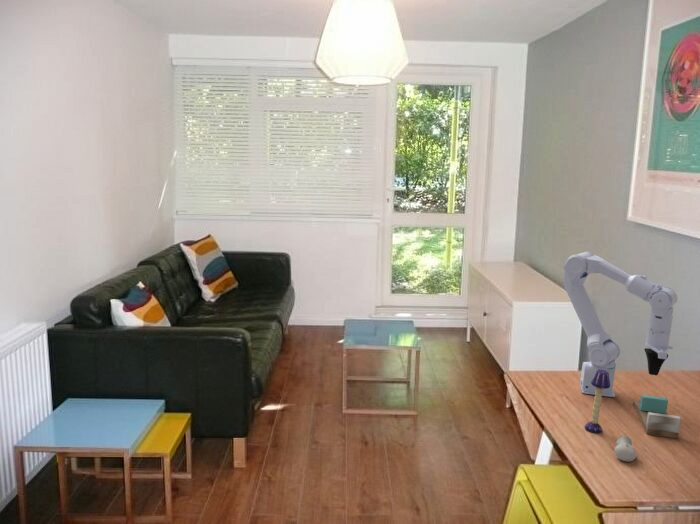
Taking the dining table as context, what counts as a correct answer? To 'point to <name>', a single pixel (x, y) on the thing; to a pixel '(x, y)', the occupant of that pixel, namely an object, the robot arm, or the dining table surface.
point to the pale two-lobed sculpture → (625, 449)
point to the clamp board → (658, 422)
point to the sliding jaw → (653, 404)
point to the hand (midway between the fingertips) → (653, 374)
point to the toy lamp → (598, 399)
